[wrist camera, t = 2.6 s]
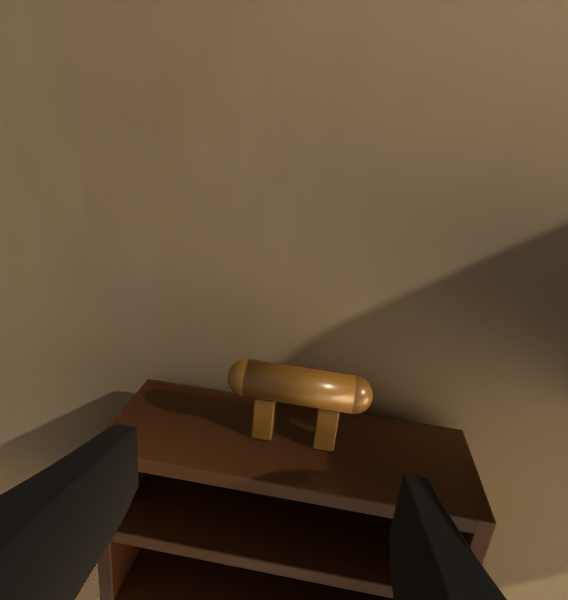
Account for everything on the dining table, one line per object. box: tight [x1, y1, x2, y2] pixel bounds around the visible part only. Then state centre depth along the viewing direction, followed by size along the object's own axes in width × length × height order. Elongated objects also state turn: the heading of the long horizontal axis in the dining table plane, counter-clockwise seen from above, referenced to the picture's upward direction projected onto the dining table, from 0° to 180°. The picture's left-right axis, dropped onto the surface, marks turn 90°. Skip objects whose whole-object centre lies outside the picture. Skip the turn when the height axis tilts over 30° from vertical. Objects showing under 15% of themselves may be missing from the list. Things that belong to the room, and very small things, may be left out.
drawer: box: [98, 359, 496, 600], centre depth 19 cm, size 5×14×11 cm
